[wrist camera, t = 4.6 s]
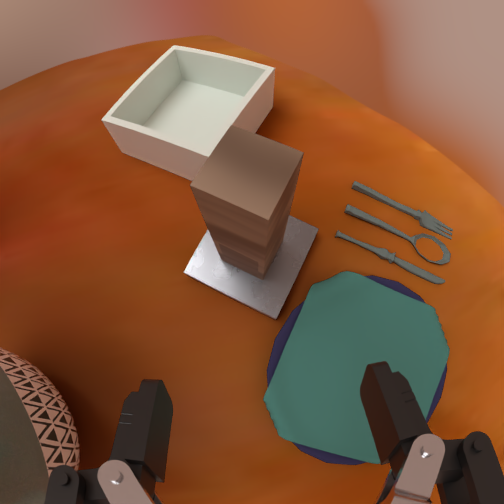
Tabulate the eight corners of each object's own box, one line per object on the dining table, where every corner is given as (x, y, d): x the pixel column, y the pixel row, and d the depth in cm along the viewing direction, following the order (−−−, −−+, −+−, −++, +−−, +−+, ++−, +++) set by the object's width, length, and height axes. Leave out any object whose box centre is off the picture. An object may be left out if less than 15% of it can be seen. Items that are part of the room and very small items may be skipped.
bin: (217, 192, 34) (209, 157, 27) (122, 152, 36) (101, 119, 29) (272, 106, 37) (275, 68, 31) (182, 80, 39) (173, 45, 33)
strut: (262, 280, 29) (268, 220, 15) (221, 260, 30) (190, 185, 16) (282, 240, 30) (303, 152, 16) (242, 221, 31) (231, 124, 17)
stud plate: (275, 320, 30) (279, 315, 24) (187, 275, 31) (173, 262, 26) (316, 233, 32) (326, 213, 27) (232, 195, 34) (228, 170, 28)
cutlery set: (233, 426, 27) (232, 432, 25) (337, 176, 35) (342, 166, 33) (397, 472, 24) (405, 479, 22) (468, 241, 33) (478, 235, 30)
